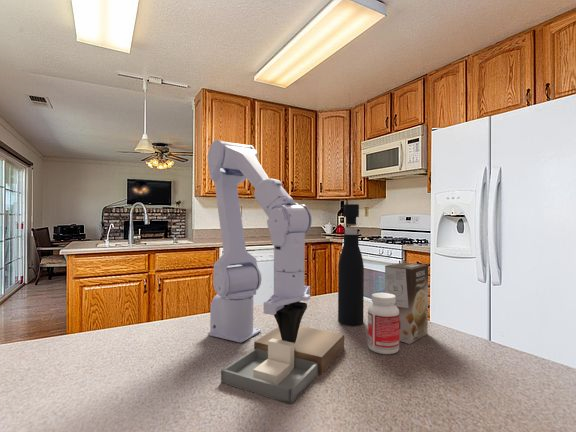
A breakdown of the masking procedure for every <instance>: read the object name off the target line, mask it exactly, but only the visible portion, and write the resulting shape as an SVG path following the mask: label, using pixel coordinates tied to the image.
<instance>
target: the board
mask: <svg viewBox="0 0 576 432" xmlns="http://www.w3.org/2000/svg"><path fill="white" fill-rule="evenodd" d="M272 338H273V339H278V340H282V338H281V334H280V330H279V327H278V326H277V327H275V328H274V329H272V330H271V331H269V332H268V333H266V334H264V335H263V336H262V337H259V338H257V339H256V340H255V341H253V349H255V348H258V349H262V350H266V351H268V341H269V340H270V339H272ZM344 350H345V334H344V333H340V332H339V333H338V332H334V331H329V330H322V329H317V328H311V327H308V326H307V327H306V326H301V325H300V326H299V330H298V334H297V339H296V342H295V343H294V357H295V358H300V359H304V360H308V361H312V362H316V363H318V375H323V374H324V372H326V370H327V369H328V368H329V367H330V365H332V363H333V362H334V361H335V360H336V359H337V357H338V356H339V355H340V354H341V353H342V352H343V351H344Z"/></svg>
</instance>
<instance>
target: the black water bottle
mask: <svg viewBox="0 0 576 432" xmlns="http://www.w3.org/2000/svg"><path fill="white" fill-rule="evenodd" d="M343 217H344V218H346V220H345V225H346V227H345V228H344V234H343V247H342V248H341V252H340V255H339V259H338V268H337V272H338V273H337V274H338V276H337V278H338V279H337V280H338V282H337V284H338V285H337V292H338V293H337V294H338V295H337V297H338V298H337V322H338V323H339V324H341V325H344V326H348V325H349V327H351V326H352V327H353V326H354V327H355V326H356V325H357V326H361V325H363V324H364V309H365V308H364V297H365V296H364V292H365V291H364V284H365V283H364V282H365V281H364V280H365V278H364V277H365V267H364V266H365V265H364V260H363V256H362V252H361V249H360V246H359V243H360V242H359V238H360V237H359V234H358V227H357V218H359V217H360V205H359V204H358V203H357V204H356V203H350V204H349V203H348V204H347V203H346V204H343ZM355 226H356V227H355ZM357 326H356V327H357Z"/></svg>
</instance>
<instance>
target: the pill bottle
mask: <svg viewBox="0 0 576 432" xmlns="http://www.w3.org/2000/svg"><path fill="white" fill-rule="evenodd" d="M371 302H372V303H371V304H369V306H368V308H367V345H368V348H369V349H370V350H371V351H373V352H374V353H377V354H381V355H392V354H393V355H394V354H395V353H397V352H398V351H399V350H400V341H399V309H398V308H397V307H396V306H395V305H394V304H395V302H396V296H395V295H393V294H389V293H385V292H374V293H372V294H371Z"/></svg>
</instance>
